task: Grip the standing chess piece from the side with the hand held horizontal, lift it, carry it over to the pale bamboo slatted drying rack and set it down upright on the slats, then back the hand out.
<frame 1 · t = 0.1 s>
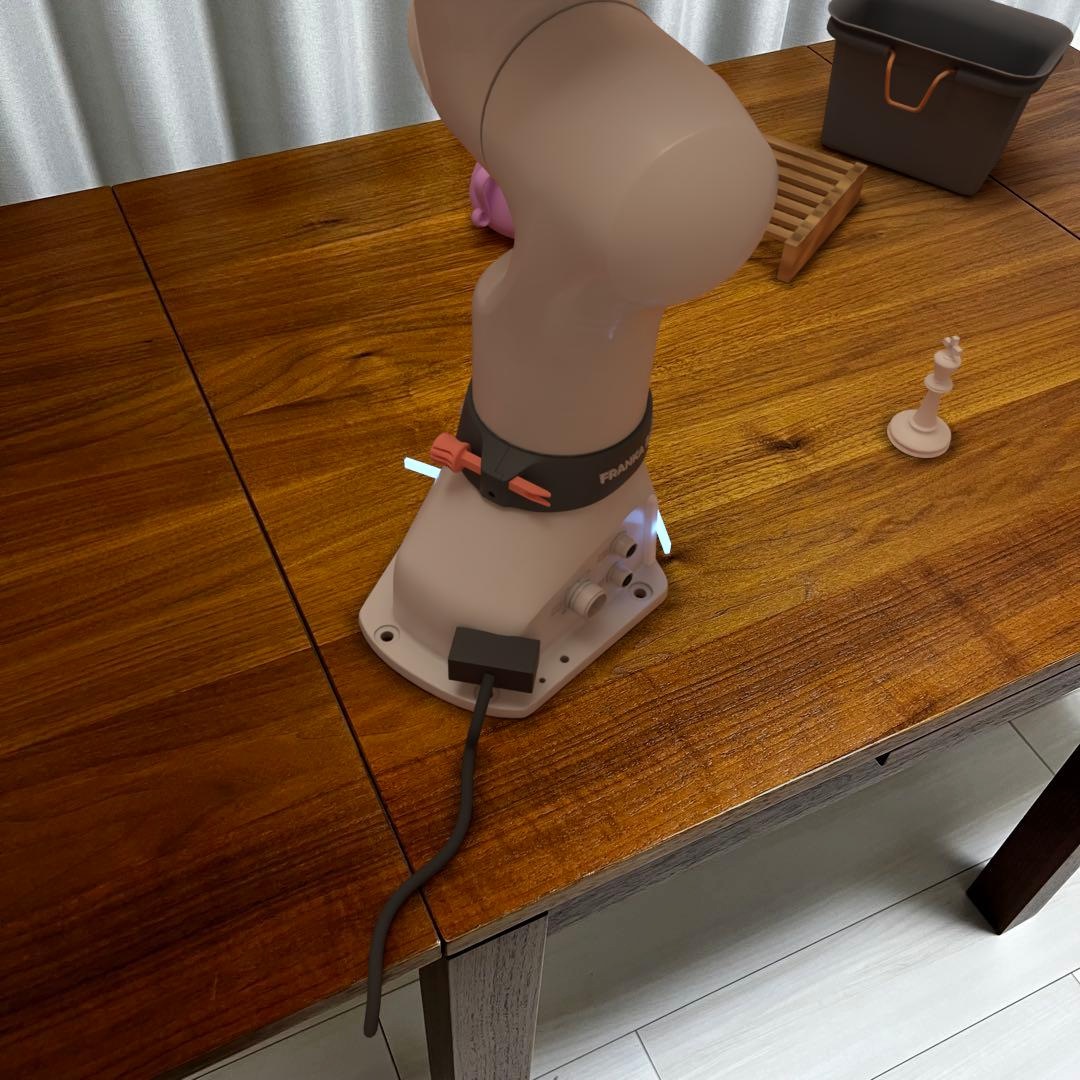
rack: (757, 216, 114), on the table
chess piece: (917, 438, 95), on the table
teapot: (533, 220, 112), on the table
storage bin: (905, 162, 121), on the table
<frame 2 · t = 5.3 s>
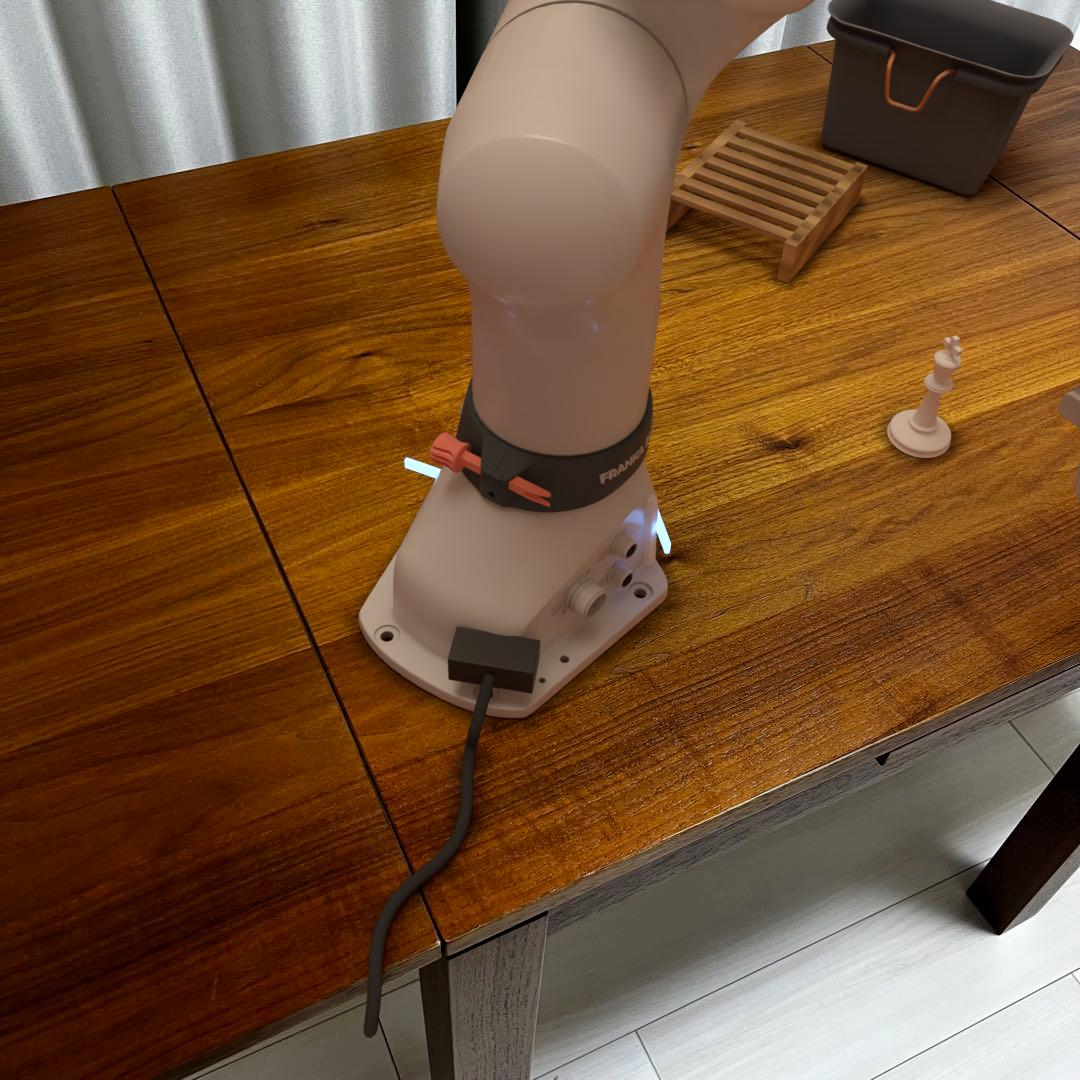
nothing on the table moved.
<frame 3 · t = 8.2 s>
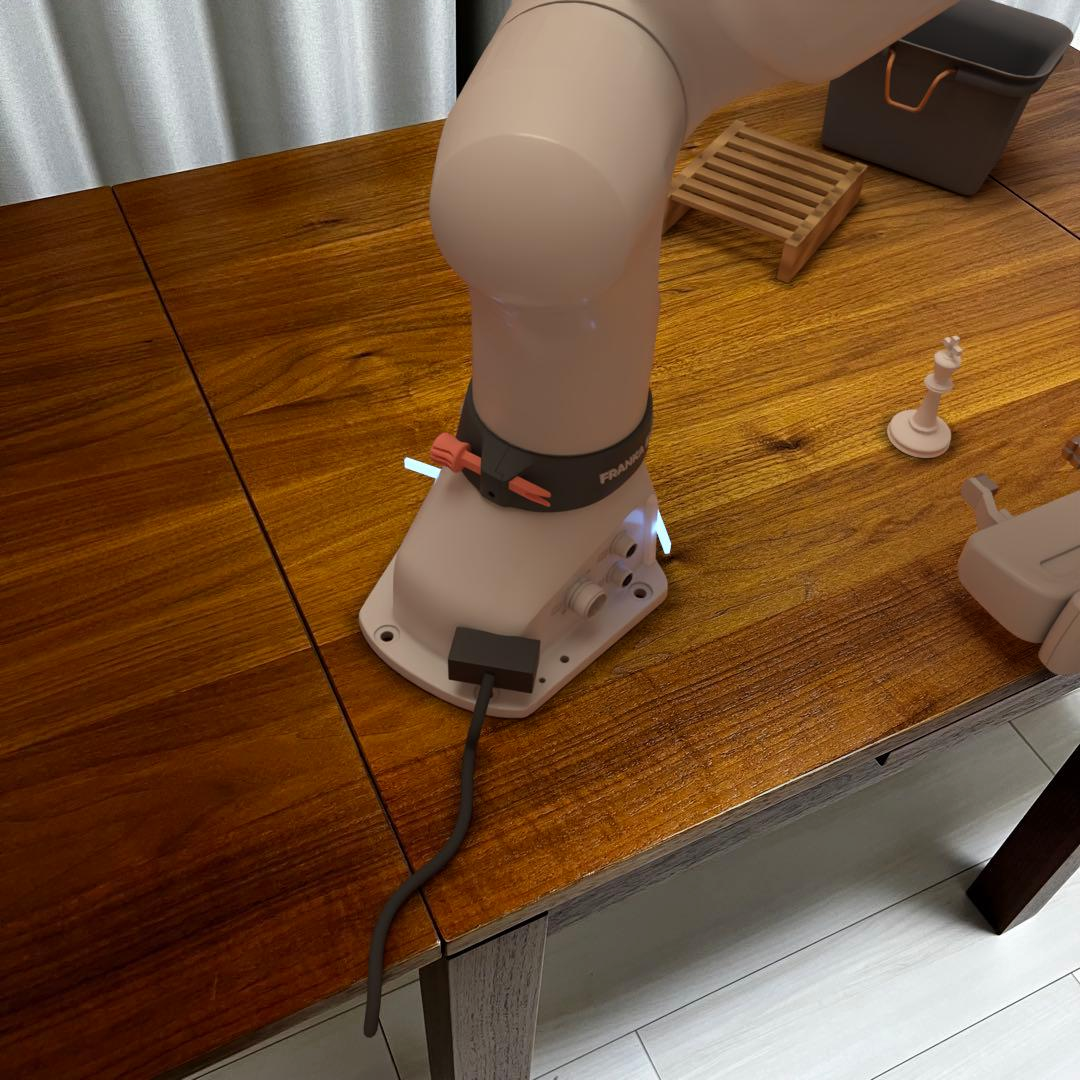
hand: (1021, 462, 85), 6 cm above the table, tool horizontal, fingers open, 8 cm apart
nothing on the table moved.
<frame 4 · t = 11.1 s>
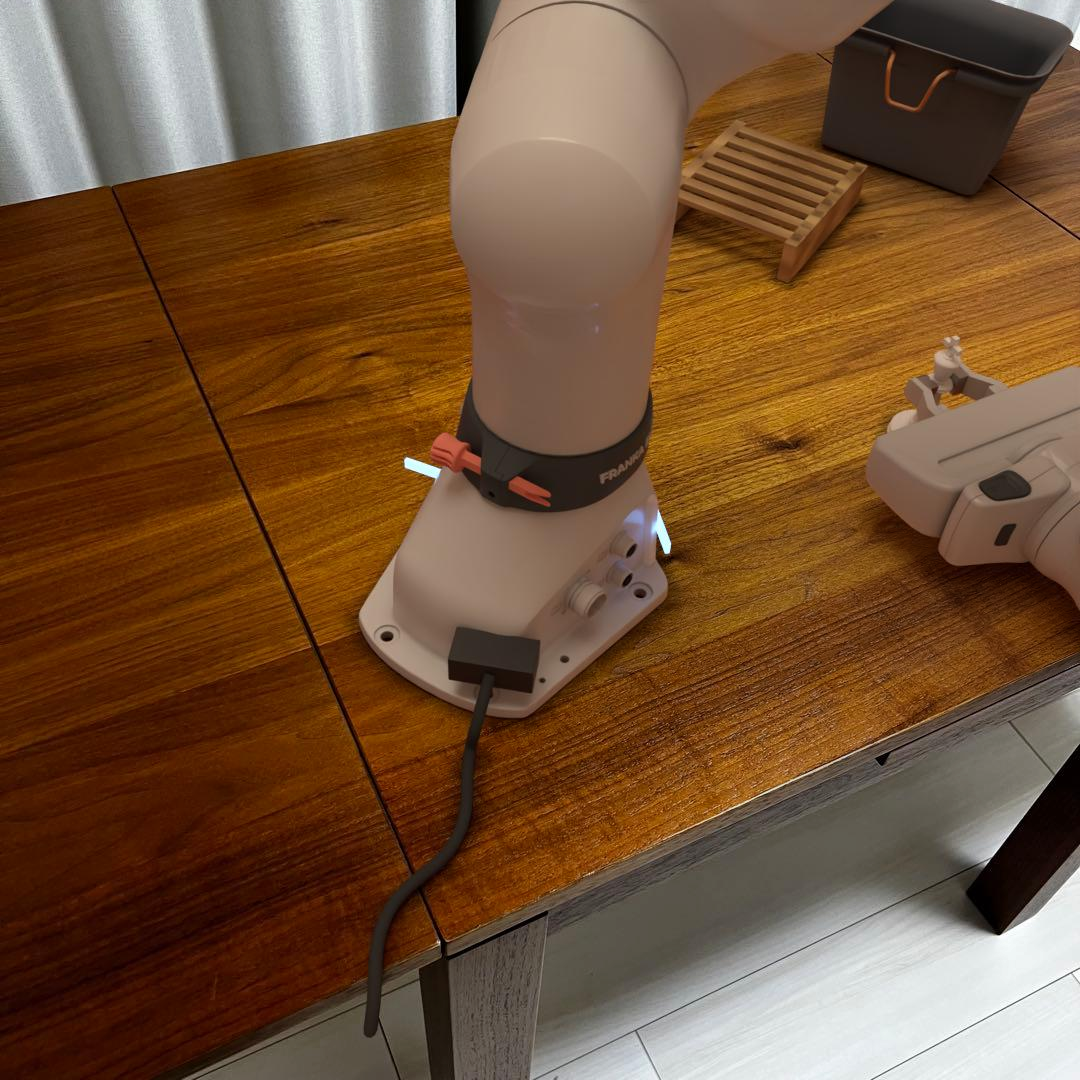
hand: (930, 376, 91), 6 cm above the table, tool horizontal, fingers closed on chess piece
chess piece: (917, 438, 95), on the table, touching gripper
everything else where it was.
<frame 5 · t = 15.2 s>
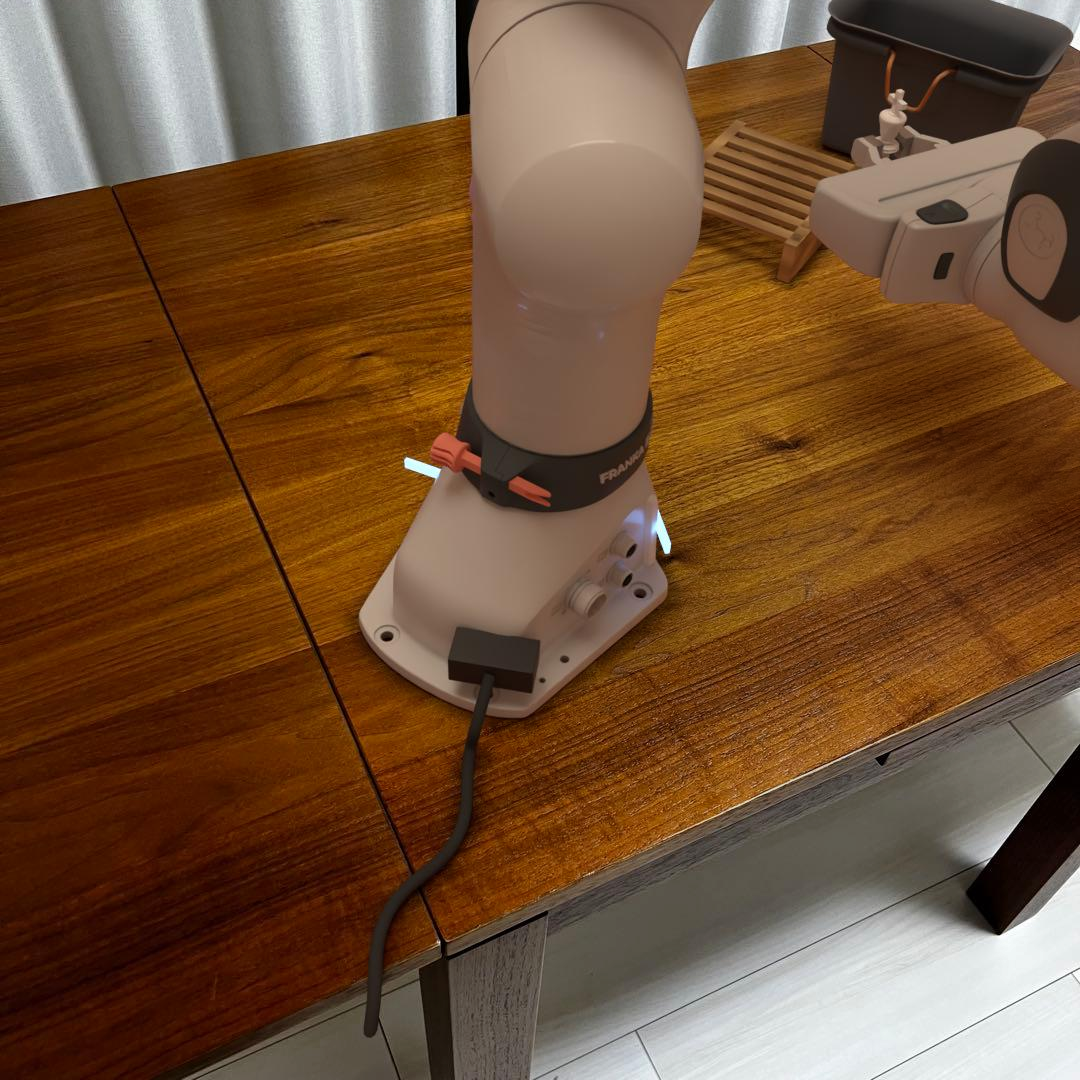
hand: (877, 140, 91), 17 cm above the table, tool horizontal, fingers closed on chess piece
chess piece: (866, 211, 95), point 11 cm above the table, touching gripper
everything else where it was.
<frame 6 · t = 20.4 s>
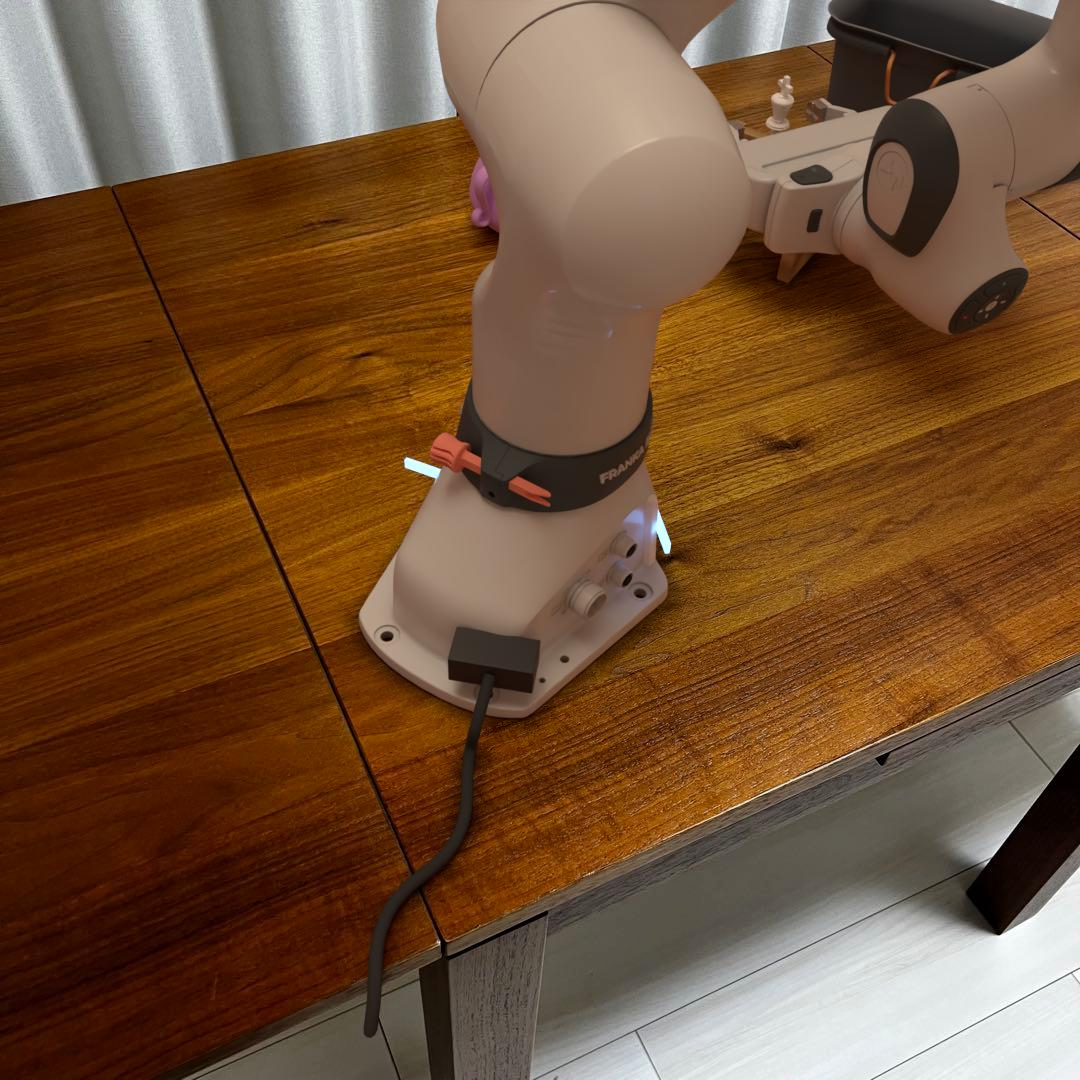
hand: (769, 117, 107), 10 cm above the table, tool horizontal, fingers open, 8 cm apart
chess piece: (766, 181, 111), point 4 cm above the table, touching rack
everything else where it was.
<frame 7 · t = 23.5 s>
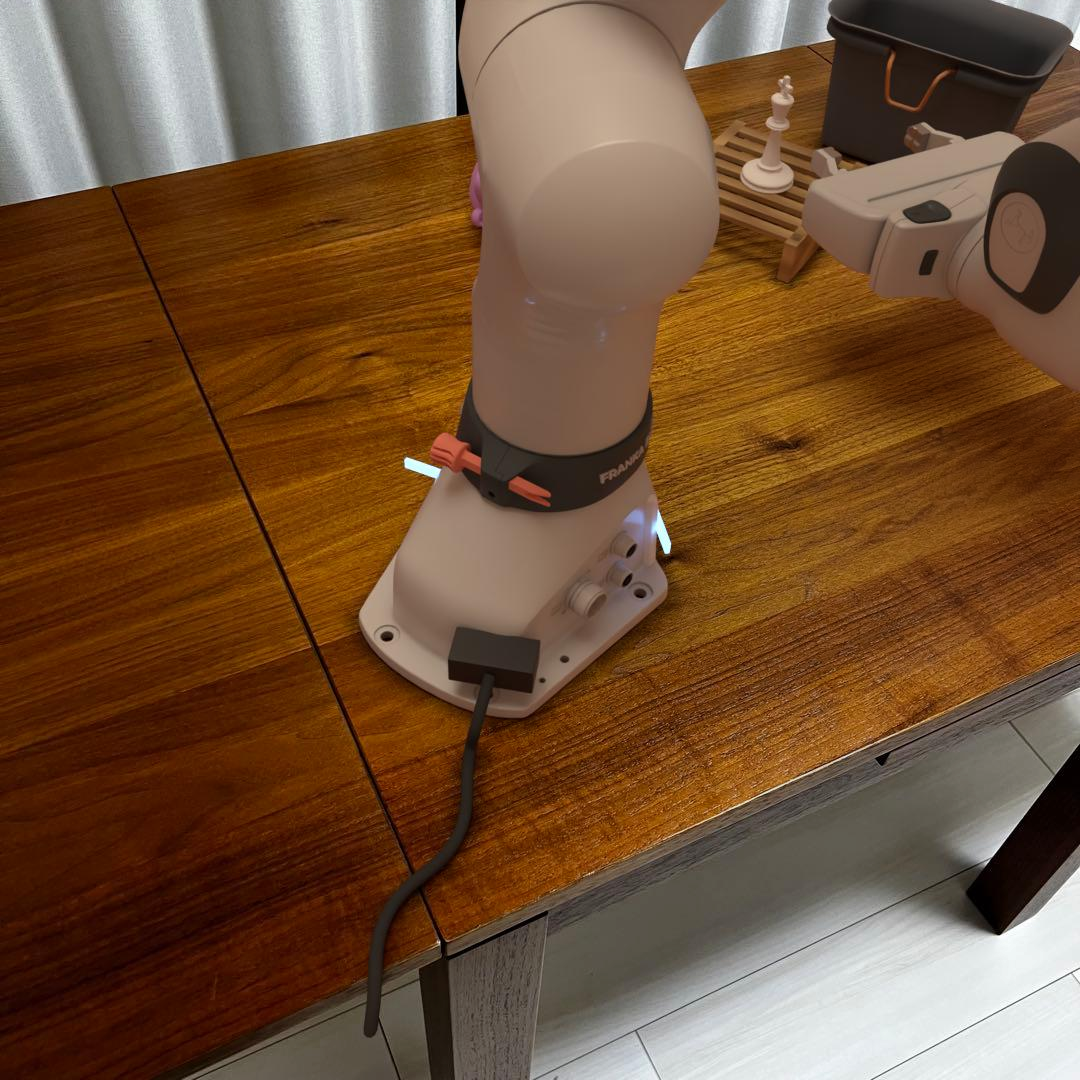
hand: (866, 143, 97), 14 cm above the table, tool horizontal, fingers open, 8 cm apart
nothing on the table moved.
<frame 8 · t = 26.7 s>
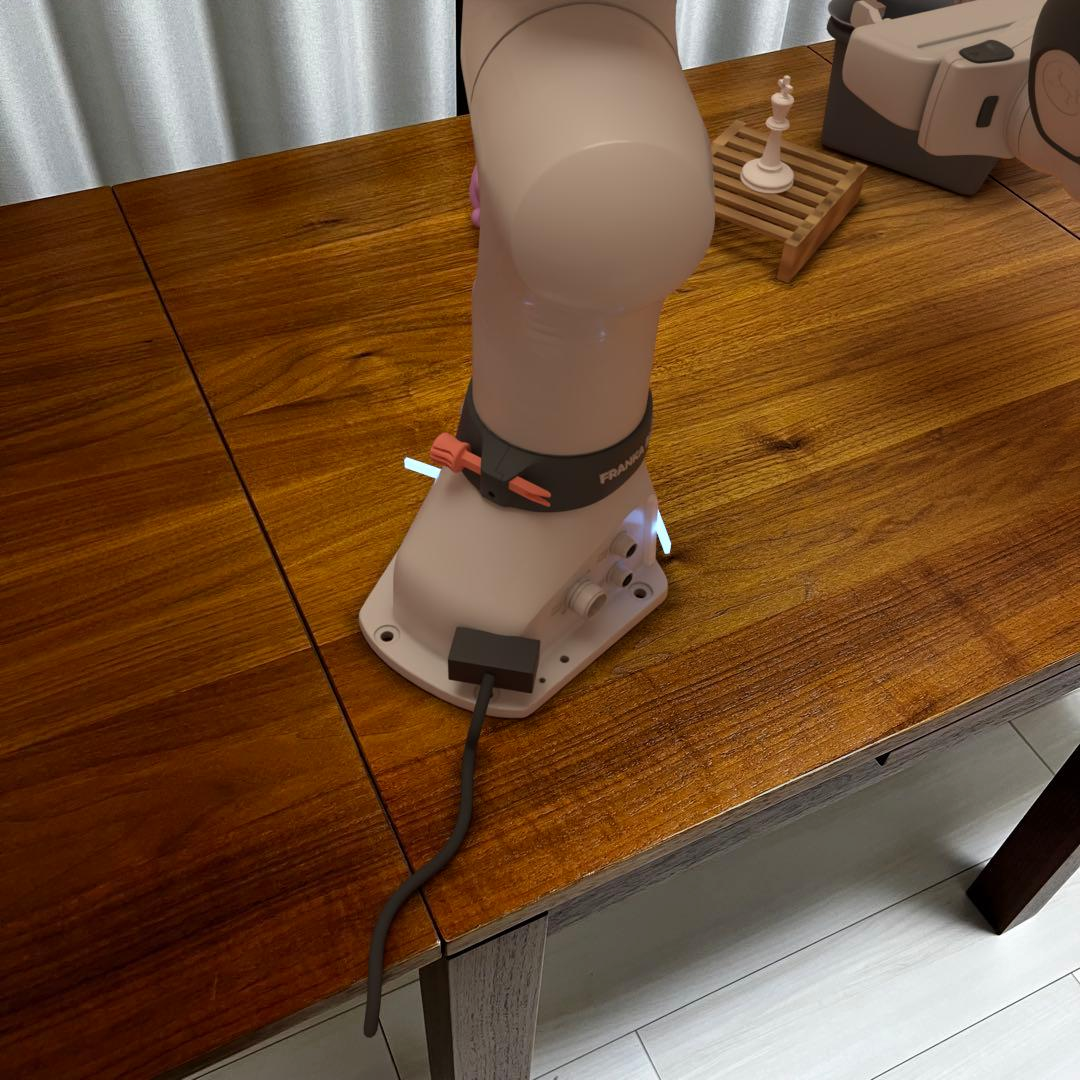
nothing on the table moved.
at the end: chess piece inside the target area on the rack (0.2 cm from its centre), point 3.8 cm above the rack's base; chess piece tilted 0°; the gripper is holding nothing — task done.
